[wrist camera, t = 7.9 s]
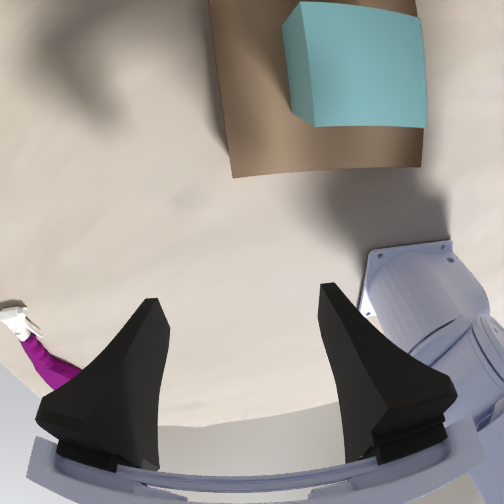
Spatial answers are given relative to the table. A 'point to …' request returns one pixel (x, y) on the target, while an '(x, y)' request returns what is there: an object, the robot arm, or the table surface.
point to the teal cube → (355, 66)
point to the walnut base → (289, 99)
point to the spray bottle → (37, 349)
